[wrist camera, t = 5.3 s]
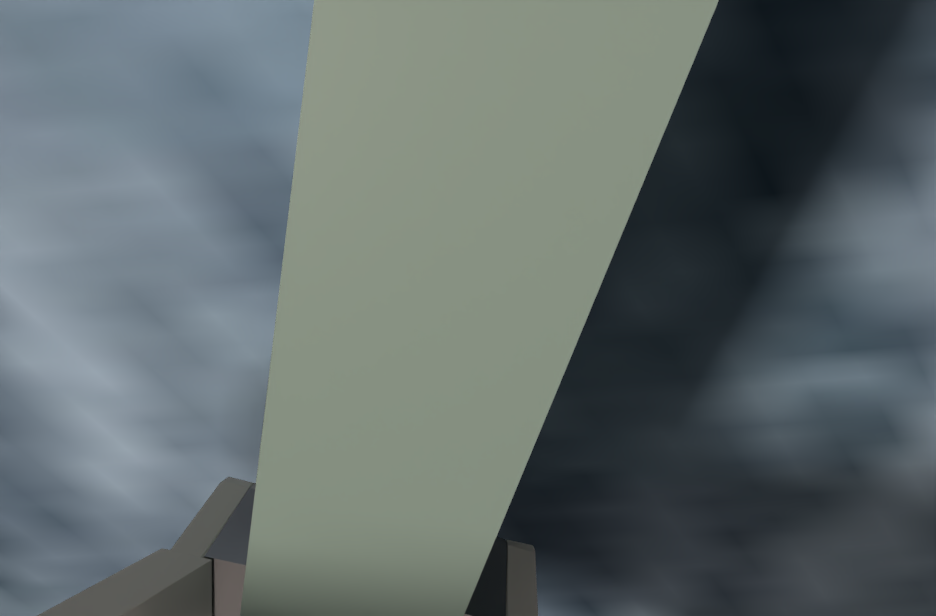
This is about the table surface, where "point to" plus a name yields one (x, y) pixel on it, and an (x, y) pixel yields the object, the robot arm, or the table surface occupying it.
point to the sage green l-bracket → (442, 278)
